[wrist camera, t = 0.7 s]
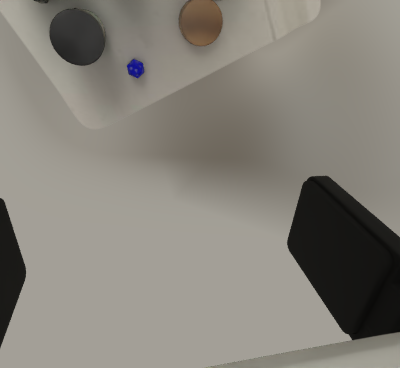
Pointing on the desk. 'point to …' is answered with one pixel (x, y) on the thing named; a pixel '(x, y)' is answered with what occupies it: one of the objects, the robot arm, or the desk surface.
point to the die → (135, 68)
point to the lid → (77, 36)
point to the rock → (42, 1)
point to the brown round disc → (200, 22)
